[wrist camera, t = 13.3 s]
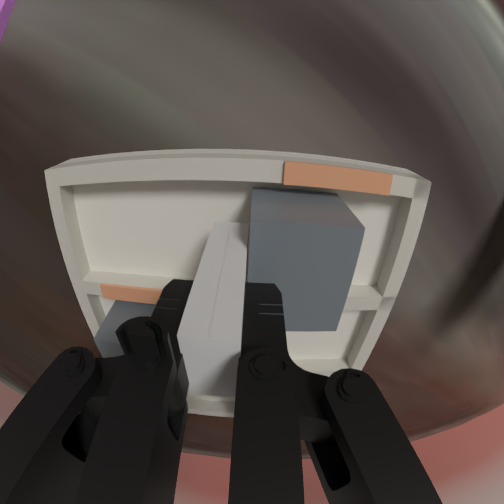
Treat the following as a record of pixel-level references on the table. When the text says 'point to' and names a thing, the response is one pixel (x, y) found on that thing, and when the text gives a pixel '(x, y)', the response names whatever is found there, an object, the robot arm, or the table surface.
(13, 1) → the bracket
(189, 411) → the switch board
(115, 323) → the slider
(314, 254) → the slider
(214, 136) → the table surface
